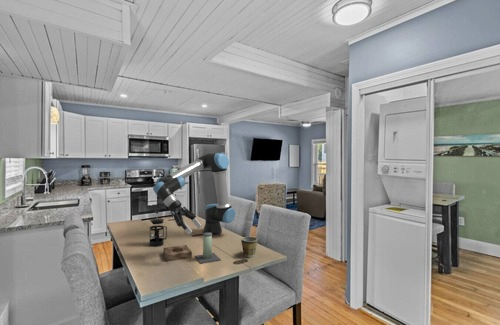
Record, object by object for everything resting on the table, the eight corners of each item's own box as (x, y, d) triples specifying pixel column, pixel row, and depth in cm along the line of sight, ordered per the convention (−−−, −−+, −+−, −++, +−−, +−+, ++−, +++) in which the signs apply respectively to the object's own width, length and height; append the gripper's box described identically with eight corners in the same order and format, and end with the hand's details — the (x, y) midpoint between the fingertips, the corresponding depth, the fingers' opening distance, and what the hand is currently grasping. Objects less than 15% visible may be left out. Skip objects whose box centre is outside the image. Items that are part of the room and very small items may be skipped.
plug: (209, 255, 152) (210, 232, 152) (212, 258, 147) (213, 234, 147) (201, 256, 149) (202, 233, 150) (204, 259, 145) (204, 235, 145)
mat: (213, 253, 156) (213, 252, 156) (220, 260, 146) (220, 259, 146) (194, 256, 151) (194, 255, 151) (200, 263, 140) (200, 262, 140)
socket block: (186, 250, 161) (186, 244, 161) (191, 257, 149) (191, 251, 149) (163, 253, 155) (163, 247, 155) (167, 261, 143) (167, 255, 143)
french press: (148, 247, 165) (149, 212, 166) (147, 243, 174) (147, 210, 174) (167, 245, 171) (168, 211, 171) (165, 241, 179) (165, 209, 179)
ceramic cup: (259, 257, 151) (259, 240, 152) (243, 258, 149) (243, 242, 149) (252, 250, 164) (253, 234, 164) (238, 251, 161) (238, 235, 161)
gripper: (178, 204, 166) (199, 228, 163) (157, 211, 141) (181, 240, 138) (186, 196, 165) (207, 221, 161) (165, 202, 140) (190, 231, 137)
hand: (195, 230), depth 150 cm, fingers open, 13 cm apart
